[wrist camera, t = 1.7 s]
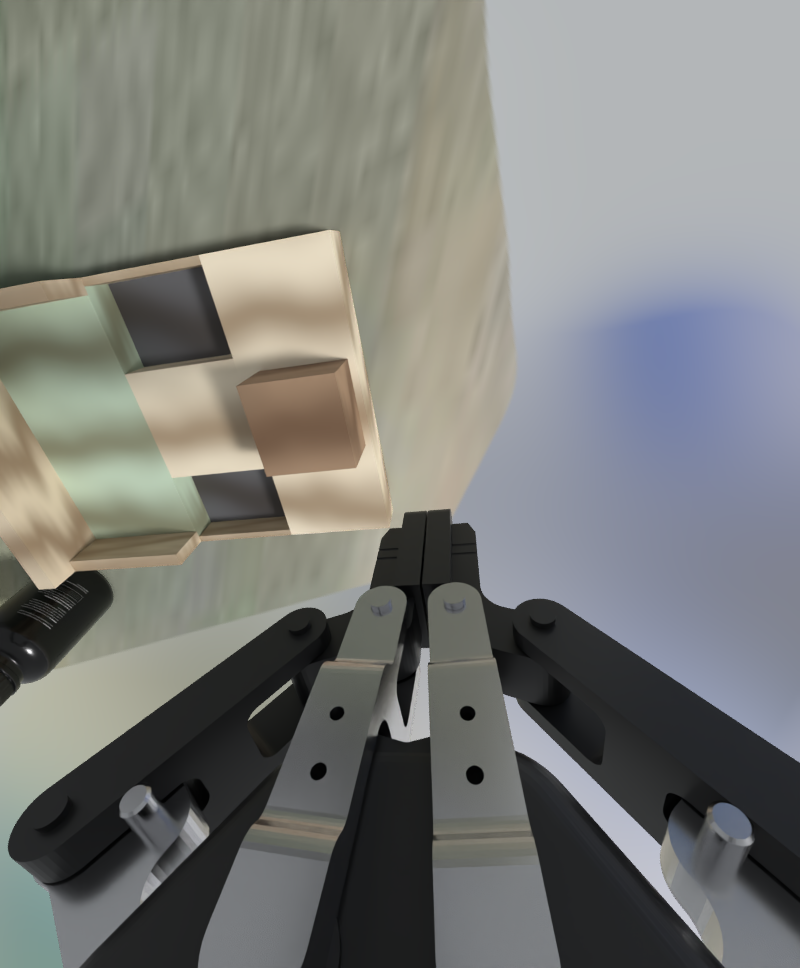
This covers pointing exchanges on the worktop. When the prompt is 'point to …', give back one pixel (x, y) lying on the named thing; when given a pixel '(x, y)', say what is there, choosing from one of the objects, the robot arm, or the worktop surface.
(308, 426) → the walnut block
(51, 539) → the box
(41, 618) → the supplement bottle
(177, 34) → the worktop surface
